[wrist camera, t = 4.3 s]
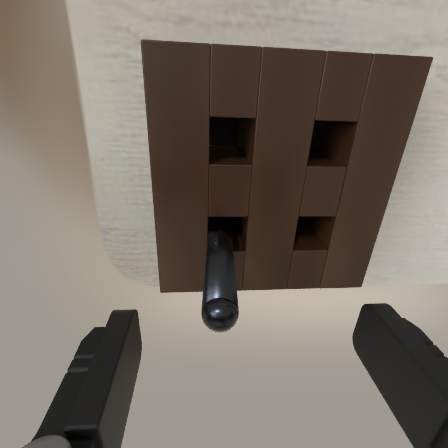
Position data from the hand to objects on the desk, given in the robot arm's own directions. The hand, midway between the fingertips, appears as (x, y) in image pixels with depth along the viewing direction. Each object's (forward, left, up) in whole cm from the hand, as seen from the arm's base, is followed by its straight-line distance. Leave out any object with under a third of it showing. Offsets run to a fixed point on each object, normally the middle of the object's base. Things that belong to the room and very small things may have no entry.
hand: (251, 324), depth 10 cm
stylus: (0, 0, -13) cm, 13 cm away
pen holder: (+2, +3, -13) cm, 13 cm away
